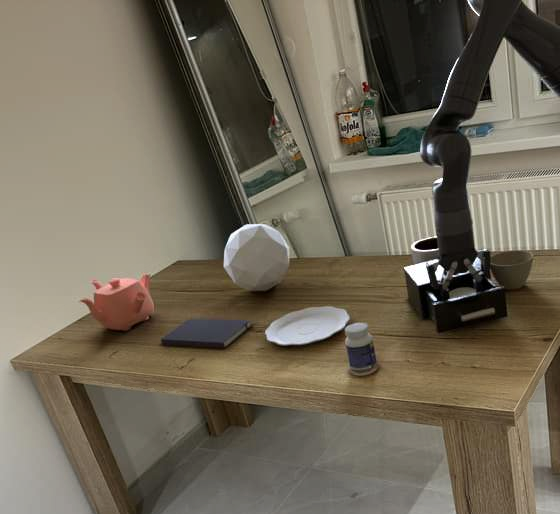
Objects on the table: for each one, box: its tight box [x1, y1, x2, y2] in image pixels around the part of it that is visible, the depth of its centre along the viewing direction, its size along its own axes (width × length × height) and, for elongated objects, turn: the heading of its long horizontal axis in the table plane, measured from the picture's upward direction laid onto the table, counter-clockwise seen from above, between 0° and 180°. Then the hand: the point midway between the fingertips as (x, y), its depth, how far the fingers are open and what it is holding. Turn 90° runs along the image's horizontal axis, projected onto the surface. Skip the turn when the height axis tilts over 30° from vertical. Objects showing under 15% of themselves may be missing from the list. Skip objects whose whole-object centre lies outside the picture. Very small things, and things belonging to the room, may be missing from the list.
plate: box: [264, 305, 351, 346], centre depth 167 cm, size 21×21×2 cm
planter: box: [410, 236, 439, 265], centre depth 175 cm, size 11×11×10 cm
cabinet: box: [403, 256, 492, 321], centre depth 161 cm, size 14×17×9 cm
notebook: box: [160, 317, 252, 349], centre depth 179 cm, size 13×2×21 cm
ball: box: [223, 223, 290, 292], centre depth 198 cm, size 19×20×20 cm
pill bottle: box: [344, 322, 378, 377], centre depth 141 cm, size 6×6×10 cm
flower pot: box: [490, 249, 534, 291], centre depth 161 cm, size 10×10×7 cm
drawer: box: [422, 276, 509, 334], centre depth 149 cm, size 17×15×7 cm
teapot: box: [77, 273, 155, 332], centre depth 199 cm, size 18×18×14 cm
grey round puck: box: [449, 287, 476, 299], centre depth 151 cm, size 6×6×2 cm
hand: (462, 300), depth 151 cm, fingers closed on grey round puck, 6 cm apart
